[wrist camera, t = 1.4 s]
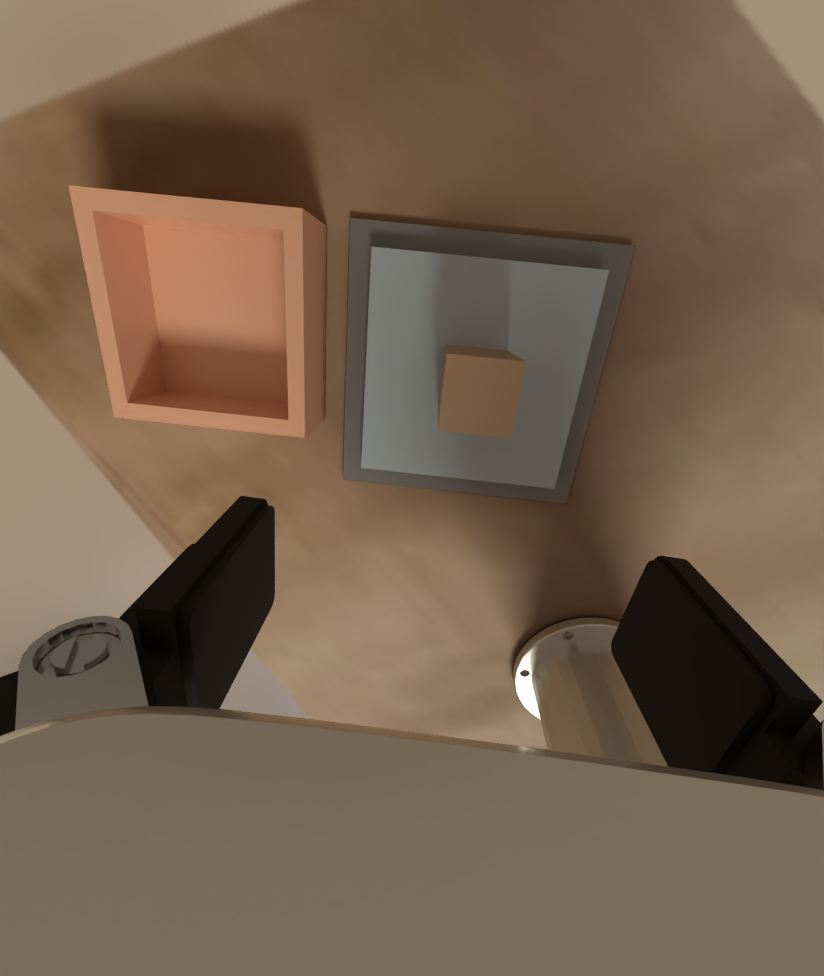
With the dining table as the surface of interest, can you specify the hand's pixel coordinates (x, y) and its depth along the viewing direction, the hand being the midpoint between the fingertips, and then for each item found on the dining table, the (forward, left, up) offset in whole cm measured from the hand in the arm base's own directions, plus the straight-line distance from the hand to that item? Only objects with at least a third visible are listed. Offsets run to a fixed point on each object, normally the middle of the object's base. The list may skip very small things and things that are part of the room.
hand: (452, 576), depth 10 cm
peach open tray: (+14, -4, -21) cm, 26 cm away
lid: (-2, -2, -20) cm, 20 cm away
